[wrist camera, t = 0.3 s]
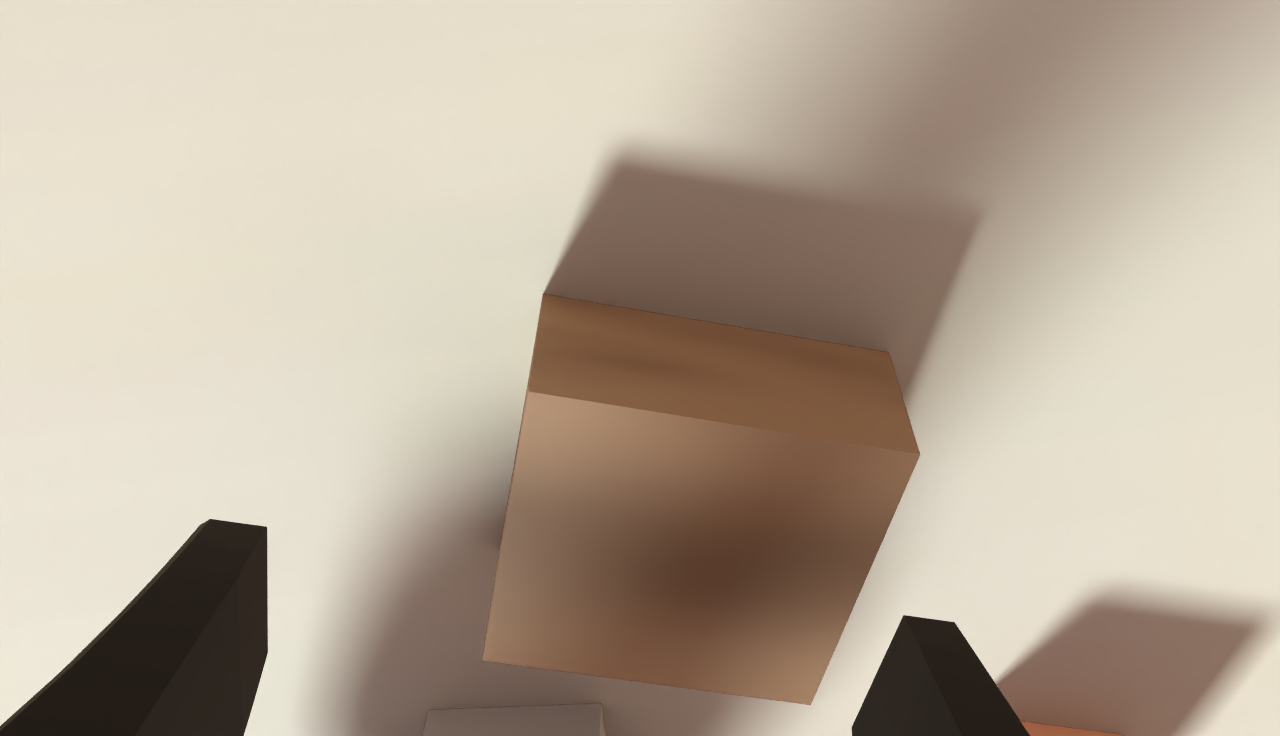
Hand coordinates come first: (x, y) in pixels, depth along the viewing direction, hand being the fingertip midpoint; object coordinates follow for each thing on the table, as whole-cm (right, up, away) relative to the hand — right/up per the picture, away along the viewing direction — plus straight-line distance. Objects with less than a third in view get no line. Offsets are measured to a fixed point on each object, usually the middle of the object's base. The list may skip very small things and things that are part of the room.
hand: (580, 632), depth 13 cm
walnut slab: (+2, +1, +12) cm, 12 cm away
